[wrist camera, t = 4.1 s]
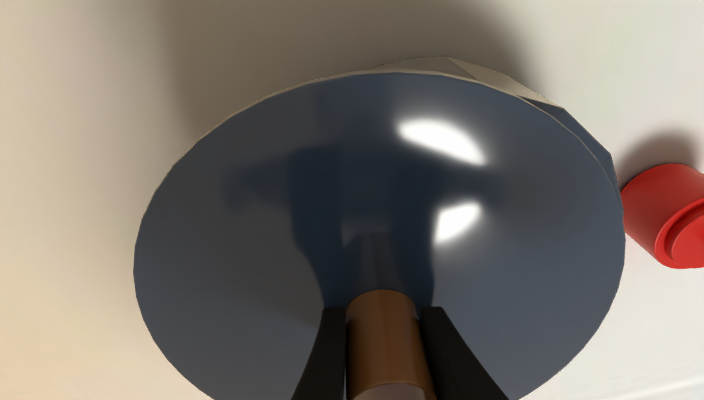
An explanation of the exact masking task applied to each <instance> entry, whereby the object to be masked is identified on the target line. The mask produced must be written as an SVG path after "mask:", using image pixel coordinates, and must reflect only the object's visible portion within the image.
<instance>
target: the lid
mask: <svg viewBox="0 0 704 400" xmlns="http://www.w3.org/2000/svg"><path fill="white" fill-rule="evenodd" d="M625 241H626V239H625V231H624V223H623V215H622V211H621V208H620V205H619V202H618V199H617V196H616V193H615V190H614V187H613V185H612V184H611V182H610V180H609V178H608V177H607V175H606V173H605V171H604V170H603V168H602V166H601V164H600V163H599V161H598V160H597V159H596V158H595V156H594V155H593V154H592V153H591V152H590V151H589V149H588V148H587V147H586V146H585V145H584V144H583V142H582V141H581V140H580V139H579V138H578V137H577V136H576V135H575V134H573V133H572V132H571V131H570V130H568V129H567V128H566V127H565V126H564V125H562V124H561V123H560V122H559V121H557V120H556V119H555V118H554V117H552V116H551V115H550V114H548V113H546V112H545V111H543V110H541V109H540V108H538V107H536V106H534V105H532V104H531V103H529V102H527V101H525V100H524V99H522V98H520V97H518V96H517V95H515V94H513V93H510V92H507V91H505V90H502V89H499V88H497V87H494V86H491V85H489V84H486V83H483V82H481V81H478V80H474V79H469V78H465V77H460V76H455V75H450V74H446V73H441V72H436V71H422V70H407V69H381V70H366V71H351V72H346V73H341V74H336V75H331V76H327V77H322V78H317V79H312V80H308V81H305V82H302V83H299V84H296V85H294V86H291V87H288V88H285V89H282V90H279V91H277V92H274V93H271V94H268V95H266V96H265V97H263V98H261V99H259V100H257V101H255V102H253V103H251V104H249V105H247V106H245V107H243V108H242V109H240V110H238V111H236V112H234V113H232V114H231V115H230V116H228V117H227V118H226V119H224V120H223V121H221V122H220V123H219V124H217V125H216V126H215V127H213V128H212V129H210V130H209V131H208V132H206V133H205V134H204V135H202V136H201V137H200V138H199V139H198V140H197V141H196V142H195V143H194V144H193V145H192V146H191V147H190V148H189V149H188V150H187V151H186V152H185V153H184V154H183V155H182V156H181V157H180V158H179V159H178V161H177V162H176V163H175V164H174V165H173V166H172V168H171V169H170V171H169V172H168V174H167V175H166V176H165V178H164V179H163V181H162V182H161V183H160V185H159V186H158V188H157V189H156V190H155V192H154V194H153V196H152V198H151V200H150V203H149V205H148V207H147V209H146V211H145V213H144V215H143V217H142V220H141V224H140V228H139V232H138V236H137V240H136V243H135V253H134V268H133V274H134V283H135V291H136V298H137V301H138V304H139V308H140V311H141V314H142V317H143V320H144V322H145V324H146V326H147V328H148V330H149V332H150V334H151V336H152V338H153V340H154V342H155V343H156V344H157V346H158V347H159V349H160V350H161V351H162V353H163V354H164V356H165V357H166V359H167V360H168V361H169V362H170V363H171V364H172V365H173V366H174V367H175V368H176V369H177V370H178V371H179V373H180V374H181V375H182V376H183V377H185V378H186V379H187V380H188V381H189V382H191V383H192V384H193V385H194V386H195V387H197V388H198V389H199V390H200V391H202V392H203V393H205V394H206V395H208V396H209V397H211V398H212V399H214V400H291V398H292V396H293V394H294V392H295V389H296V387H297V385H298V383H299V381H300V378H301V376H302V374H303V371H304V369H305V367H306V364H307V361H308V359H309V356H310V353H311V351H312V348H313V345H314V342H315V339H316V336H317V333H318V329H319V326H320V321H321V317H322V310H323V309H324V308H326V307H345V309H346V354H345V388H344V400H438V399H437V394H436V390H435V386H434V382H433V378H432V373H431V369H430V365H429V361H428V356H427V352H426V348H425V344H424V339H423V335H422V331H421V327H420V322H419V321H420V315H421V308H422V307H427V306H441V307H442V308H443V309H444V310H445V312H446V314H447V315H448V317H449V318H450V320H451V321H452V323H453V325H454V326H455V328H456V329H457V331H458V332H459V334H460V335H461V337H462V338H463V339H464V341H465V342H466V344H467V345H468V347H469V348H470V349H471V351H472V352H473V354H474V355H475V356H476V358H477V359H478V360H479V362H480V363H481V364H482V366H483V367H484V368H485V370H486V371H487V372H488V374H489V375H490V376H491V378H492V379H493V380H494V381H495V383H496V384H497V385H498V386H499V387H500V389H501V390H502V391H503V392H504V394H505V395H506V396H507V397H508V398H509V400H519V399H521V398H522V397H524V396H526V395H528V394H529V393H531V392H532V391H534V390H535V389H537V388H538V387H540V386H541V385H543V384H544V383H546V382H547V381H548V380H550V379H551V378H552V377H553V376H554V375H556V374H557V373H558V372H559V371H561V370H562V369H563V368H564V367H565V366H566V365H567V364H568V363H569V362H570V361H571V360H572V359H573V358H574V357H575V356H576V355H577V354H578V353H579V352H580V351H581V350H582V349H583V348H584V347H585V345H586V344H587V343H588V342H589V340H590V339H591V338H592V336H593V335H594V334H595V333H596V331H597V330H598V328H599V327H600V325H601V323H602V322H603V320H604V318H605V316H606V315H607V313H608V311H609V310H610V307H611V305H612V302H613V300H614V298H615V295H616V293H617V290H618V288H619V284H620V279H621V275H622V271H623V267H624V258H625Z"/></svg>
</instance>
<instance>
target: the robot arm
mask: <svg viewBox="0 0 704 400" xmlns="http://www.w3.org/2000/svg"><path fill="white" fill-rule="evenodd" d="M419 322H420V327H421V331H422V335H423V339H424V344H425V348H426V352H427V356H428V361H429V365H430V369H431V373H432V378H433V382H434V386H435V390H436V394H437V399H438V400H509V398H508V397H507V396H506V395H505V394H504V392H503V391H502V390H501V389H500V387H499V386H498V385H497V384H496V383H495V381H494V380H493V379H492V378H491V376H490V375H489V374H488V372H487V371H486V370H485V368H484V367H483V366H482V364H481V363H480V362H479V360H478V359H477V358H476V356H475V355H474V354H473V352H472V351H471V349H470V348H469V347H468V345H467V344H466V342H465V341H464V339H463V338H462V337H461V335H460V334H459V332H458V331H457V329H456V328H455V326H454V325H453V323H452V321H451V320H450V318H449V317H448V315H447V314H446V312H445V310H444V309H443V308H442V307H441V306H427V307H422V308H421V315H420V321H419ZM345 354H346V309H345V307H326V308H324V309H323V310H322V317H321V321H320V326H319V329H318V333H317V336H316V339H315V342H314V345H313V348H312V351H311V353H310V356H309V359H308V361H307V364H306V367H305V369H304V371H303V374H302V376H301V378H300V381H299V383H298V385H297V387H296V389H295V392H294V394H293V396H292V398H291V400H344V388H345Z"/></svg>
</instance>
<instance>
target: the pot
mask: <svg viewBox="0 0 704 400" xmlns="http://www.w3.org/2000/svg"><path fill="white" fill-rule="evenodd" d="M381 69H407V70H422V71H436V72H441V73H446V74H450V75H455V76H460V77H465V78H469V79H474V80H478V81H481V82H483V83H486V84H489V85H491V86H494V87H497V88H499V89H502V90H505V91H507V92H510V93H513V94H515V95H517V96H518V97H520V98H522V99H524V100H525V101H527V102H529V103H531V104H532V105H534V106H536V107H538V108H540V109H541V110H543V111H545V112H546V113H548V114H550V115H551V116H552V117H554V118H555V119H556V120H557V121H559V122H560V123H561V124H562V125H564V126H565V127H566V128H567V129H568V130H570V131H571V132H572V133H573V134H575V135H576V136H577V137H578V138H579V139H580V140H581V141H582V142H583V144H584V145H585V146H586V147H587V148H588V149H589V151H590V152H591V153H592V154H593V155H594V156H595V158H596V159H597V160H598V161H599V163H600V164H601V166H602V168H603V170H604V171H605V173H606V175H607V177H608V178H609V180H610V182H611V184H612V185H613V187H614V190H615V193H616V196H617V199H618V202H619V205H620V208H621V211H622V215H623V217H624V208H623V204H622V199H621V195H620V191H619V187H618V182H617V178H616V174H615V170H614V165H613V161H612V157H611V154H610V153H609V152H608V151H607V150H606V149H605V148H604V147H603V146H602V145H601V144H600V143H599V142H598V141H597V140H596V139H595V138H594V137H593V136H592V135H591V134H590V133H589V132H588V131H587V130H586V129H585V128H584V127H583V126H582V125H580V124H579V123H578V122H577V121H576V120H575V119H574V118H573V117H572V116H571V115H570V114H569V113H568V112H567V111H566V110H565V109H564V108H562V107H560V106H559V105H557V104H555V103H553V102H552V101H550V100H548V99H546V98H544V97H543V96H541V95H539V94H537V93H536V92H534V91H532V90H530V89H529V88H527V87H525V86H523V85H522V84H520V83H518V82H516V81H515V80H513V79H511V78H509V77H508V76H506V75H504V74H502V73H500V72H498V71H495V70H492V69H488V68H485V67H481V66H478V65H475V64H473V63H470V62H466V61H461V60H457V59H454V58H450V57H447V56H435V57H425V58H412V59H407V60H402V61H397V62H393V63H387V64H382V65H379V66H378V67H376V68H374V69H372V70H381Z"/></svg>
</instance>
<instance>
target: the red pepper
mask: <svg viewBox="0 0 704 400" xmlns="http://www.w3.org/2000/svg"><path fill="white" fill-rule="evenodd" d="M620 195H621V199H622V204H623V208H624V217H623V223H624V231H625V233H627V234H628V235H629V236H630V237H631V238H632V239H633V240H635V241H636V242H637V243H638V244H639V245H640V246H641V247H643V248H644V249H645V250H646V251H647V252H648V253H649V254H650V255H652V256H653V257H654V258H655V259H656V260H657V261H658V262H660V263H661V264H663V265H665V266H667V267H670V268H675V269H688V268H701V267H704V174H703V173H701V172H699V171H697V170H695V169H693V168H691V167H689V166H687V165H684V164H677V163H671V164H664V165H659V166H656V167H653V168H651V169H649V170H647V171H645V172H643V173H641V174H640V175H638V176H637V177H635V178H634V179H633V180H631V181H630V182H629V183H628V184H627V185H626V186H625V187H624V189H623V190H622V191H621V193H620Z"/></svg>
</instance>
